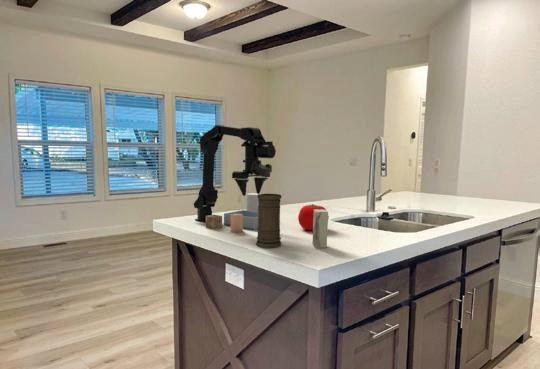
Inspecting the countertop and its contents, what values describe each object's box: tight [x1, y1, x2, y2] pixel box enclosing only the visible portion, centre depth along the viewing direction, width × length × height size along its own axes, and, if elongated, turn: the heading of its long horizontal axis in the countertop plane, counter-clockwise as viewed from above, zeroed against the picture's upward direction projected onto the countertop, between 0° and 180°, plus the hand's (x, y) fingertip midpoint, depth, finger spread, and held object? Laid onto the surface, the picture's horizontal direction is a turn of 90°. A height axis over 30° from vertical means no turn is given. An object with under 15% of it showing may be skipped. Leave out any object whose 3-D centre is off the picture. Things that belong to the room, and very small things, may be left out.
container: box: [255, 193, 282, 249], centre depth 134 cm, size 9×9×18 cm
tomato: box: [297, 203, 330, 232], centre depth 161 cm, size 12×13×11 cm
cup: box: [245, 192, 262, 212], centre depth 185 cm, size 8×8×12 cm
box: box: [311, 209, 329, 249], centre depth 133 cm, size 5×4×13 cm
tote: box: [223, 209, 258, 231], centre depth 169 cm, size 17×13×5 cm
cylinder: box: [230, 214, 244, 234], centre depth 155 cm, size 5×5×7 cm
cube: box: [205, 214, 223, 230], centre depth 163 cm, size 5×5×5 cm
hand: (251, 194), depth 160 cm, fingers open, 9 cm apart
